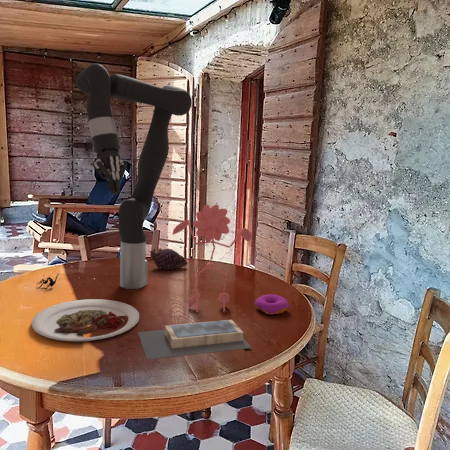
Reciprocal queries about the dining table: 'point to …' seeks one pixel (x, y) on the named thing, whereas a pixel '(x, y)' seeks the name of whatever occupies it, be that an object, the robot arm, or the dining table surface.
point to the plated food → (83, 319)
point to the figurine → (212, 229)
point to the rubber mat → (161, 348)
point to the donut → (272, 303)
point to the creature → (47, 281)
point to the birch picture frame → (203, 333)
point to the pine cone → (167, 259)
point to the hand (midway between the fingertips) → (116, 193)
